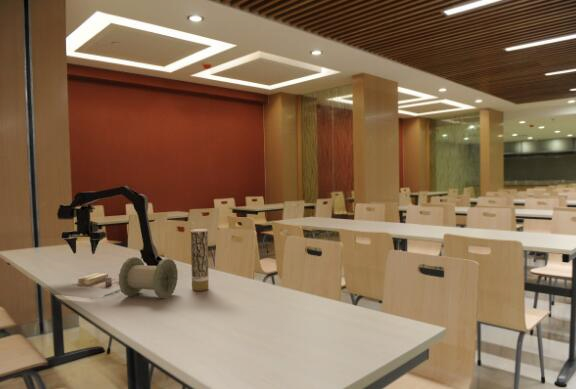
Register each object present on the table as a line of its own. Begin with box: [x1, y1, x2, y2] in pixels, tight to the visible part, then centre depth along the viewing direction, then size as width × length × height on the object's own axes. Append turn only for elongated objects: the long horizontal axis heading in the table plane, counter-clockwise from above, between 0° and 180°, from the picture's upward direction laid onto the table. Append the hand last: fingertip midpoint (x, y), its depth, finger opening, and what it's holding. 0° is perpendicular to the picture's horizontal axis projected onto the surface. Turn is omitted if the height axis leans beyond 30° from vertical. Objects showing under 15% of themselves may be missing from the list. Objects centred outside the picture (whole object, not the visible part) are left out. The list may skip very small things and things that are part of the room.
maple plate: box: [77, 272, 109, 285], centre depth 189 cm, size 6×11×2 cm, turn 160°
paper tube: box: [190, 228, 210, 292], centre depth 179 cm, size 7×7×25 cm
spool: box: [118, 256, 179, 300], centre depth 169 cm, size 16×15×15 cm
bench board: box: [71, 272, 120, 289], centre depth 187 cm, size 20×15×5 cm
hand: (84, 253), depth 195 cm, fingers open, 9 cm apart
